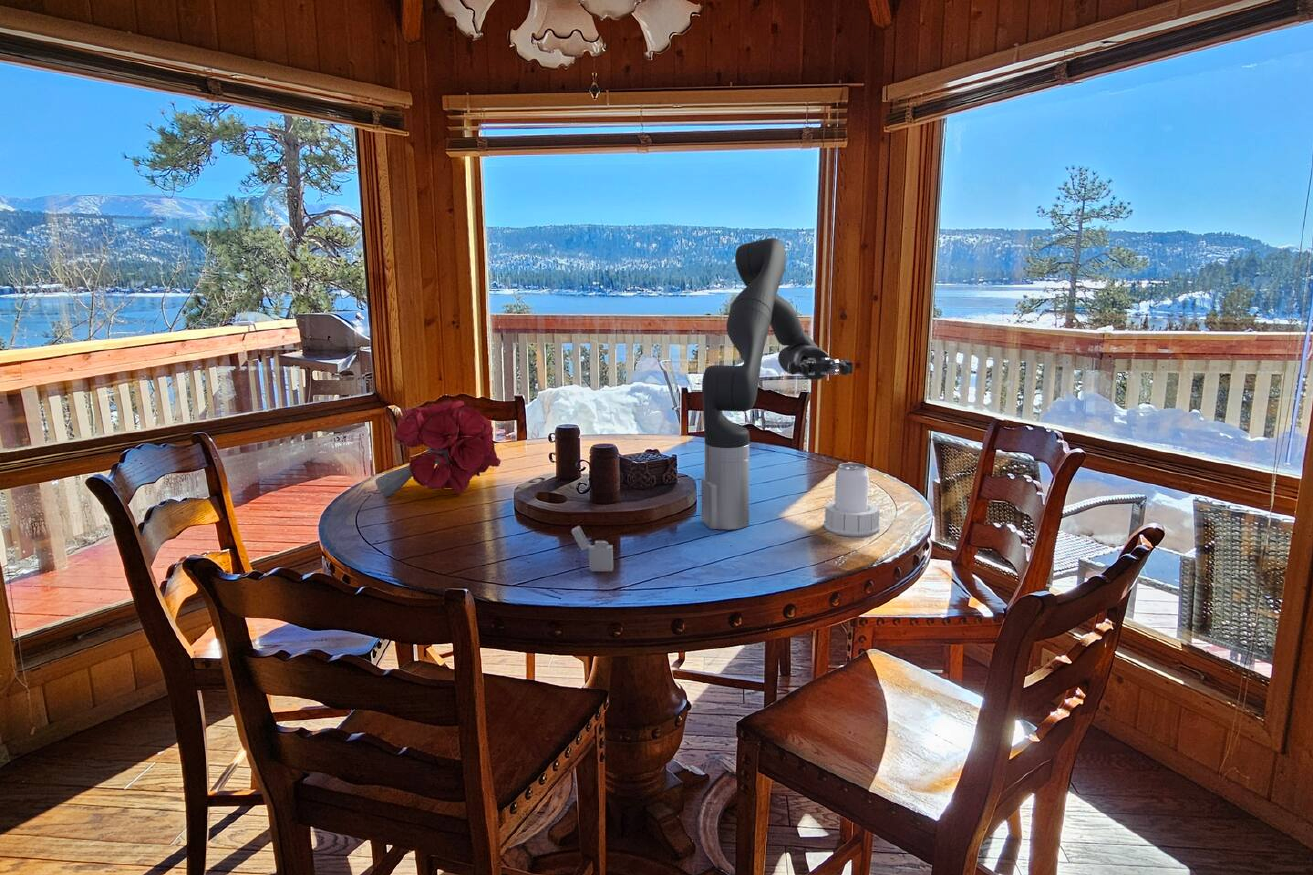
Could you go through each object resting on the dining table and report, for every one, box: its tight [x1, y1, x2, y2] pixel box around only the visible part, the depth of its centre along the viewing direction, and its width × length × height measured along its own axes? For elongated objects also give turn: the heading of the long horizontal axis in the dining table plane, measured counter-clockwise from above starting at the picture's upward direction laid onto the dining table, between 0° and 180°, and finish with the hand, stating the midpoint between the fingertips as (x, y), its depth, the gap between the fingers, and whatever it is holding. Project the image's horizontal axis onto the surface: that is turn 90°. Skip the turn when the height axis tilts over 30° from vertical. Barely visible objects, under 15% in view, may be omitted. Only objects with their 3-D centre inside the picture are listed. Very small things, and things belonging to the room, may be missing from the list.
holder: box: [823, 500, 880, 538], centre depth 163 cm, size 11×11×4 cm
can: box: [834, 462, 870, 513], centre depth 162 cm, size 6×6×12 cm
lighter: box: [571, 525, 614, 572], centre depth 142 cm, size 7×2×8 cm, turn 88°
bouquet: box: [374, 400, 502, 498], centre depth 192 cm, size 22×24×30 cm
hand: (826, 370), depth 176 cm, fingers open, 8 cm apart
